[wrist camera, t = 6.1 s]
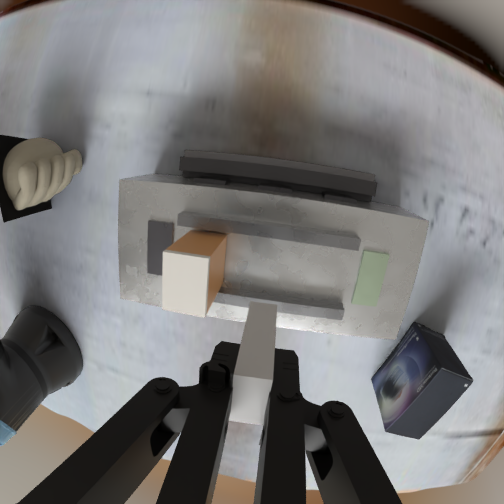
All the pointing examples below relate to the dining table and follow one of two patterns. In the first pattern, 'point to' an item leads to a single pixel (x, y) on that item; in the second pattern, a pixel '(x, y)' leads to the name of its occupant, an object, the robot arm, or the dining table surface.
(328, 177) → the grooved gray rail
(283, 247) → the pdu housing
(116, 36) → the dining table surface
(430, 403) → the small box
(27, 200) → the decorative object
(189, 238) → the lever
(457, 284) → the dining table surface
